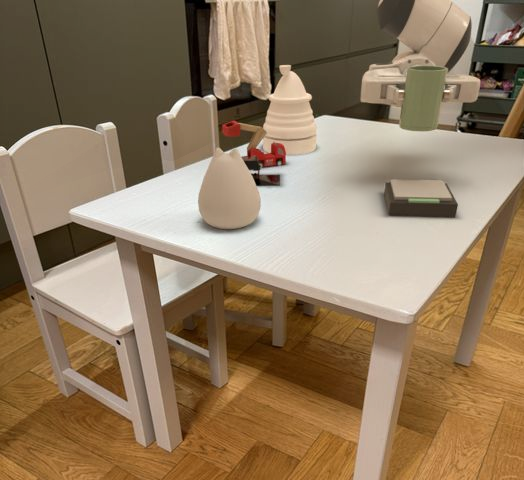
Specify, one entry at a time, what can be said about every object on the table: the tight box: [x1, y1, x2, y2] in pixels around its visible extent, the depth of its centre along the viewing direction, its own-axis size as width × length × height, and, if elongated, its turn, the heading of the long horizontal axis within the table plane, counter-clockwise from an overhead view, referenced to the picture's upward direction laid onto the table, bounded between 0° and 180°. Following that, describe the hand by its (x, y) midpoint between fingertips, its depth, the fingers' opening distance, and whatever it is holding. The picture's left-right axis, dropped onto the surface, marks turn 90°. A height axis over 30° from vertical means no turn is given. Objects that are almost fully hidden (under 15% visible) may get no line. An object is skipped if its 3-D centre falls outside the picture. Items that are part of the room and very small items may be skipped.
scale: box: [383, 178, 459, 219], centre depth 88 cm, size 11×11×3 cm
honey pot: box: [262, 64, 317, 156], centre depth 117 cm, size 13×13×18 cm
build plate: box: [242, 157, 281, 187], centre depth 101 cm, size 12×7×5 cm, turn 89°
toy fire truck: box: [221, 120, 287, 169], centre depth 107 cm, size 3×14×10 cm, turn 111°
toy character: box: [197, 147, 262, 230], centre depth 81 cm, size 10×10×12 cm
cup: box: [398, 66, 449, 132], centre depth 84 cm, size 6×6×9 cm
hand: (423, 96), depth 83 cm, fingers closed on cup, 6 cm apart
